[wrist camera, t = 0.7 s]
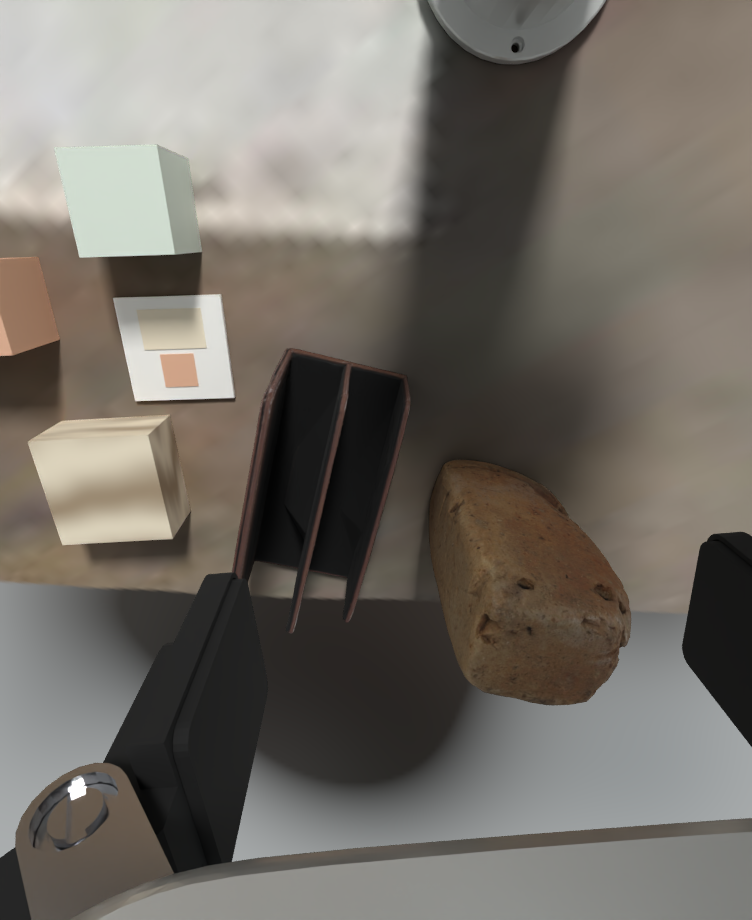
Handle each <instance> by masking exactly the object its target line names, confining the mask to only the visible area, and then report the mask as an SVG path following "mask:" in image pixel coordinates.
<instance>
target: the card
mask: <svg viewBox="0 0 752 920" xmlns="http://www.w3.org/2000/svg"><path fill="white" fill-rule="evenodd" d="M113 300H114V305H115V310H116V314H117V319H118V324H119V328H120V333H121V337H122V342H123V347H124V351H125V356H126V360H127V365H128V370H129V374H130V379H131V384H132V388H133V393H134V397H135V401H154V400H185V399H216V398H235V389H234V382H233V375H232V368H231V360H230V353H229V346H228V339H227V331H226V324H225V317H224V310H223V303H222V295H221V294H213V295H181V296H149V297H117V298H113Z"/></svg>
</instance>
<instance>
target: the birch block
mask: <svg viewBox="0 0 752 920" xmlns="http://www.w3.org/2000/svg"><path fill="white" fill-rule="evenodd" d="M28 445H29V448H30V451H31V454H32V457H33V460H34V462H35V465H36V468H37V471H38V474H39V477H40V480H41V483H42V486H43V489H44V492H45V495H46V498H47V501H48V504H49V507H50V510H51V513H52V516H53V519H54V522H55V525H56V528H57V531H58V534H59V537H60V539H61V542H62V545H71V544H89V543H108V542H126V541H144V540H163V539H173V538H174V536H175V535H176V533H177V532H178V530H179V528H180V527H181V525H182V524H183V522H184V521H185V519H186V518H187V516H188V514H189V513H190V511H191V509H190V504H189V500H188V495H187V491H186V486H185V481H184V477H183V472H182V468H181V463H180V458H179V454H178V449H177V445H176V440H175V435H174V431H173V426H172V422H171V417H170V415H159V416H141V417H123V418H105V419H87V420H69V421H61V422H59V423H57V424H56V425H54V426H53V427H51V428H49V429H48V430H46V431H44V432H43V433H41V434H39V435H38V436H36V437H34V438H33V439H31V440H29V441H28Z"/></svg>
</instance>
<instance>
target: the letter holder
mask: <svg viewBox="0 0 752 920" xmlns="http://www.w3.org/2000/svg"><path fill="white" fill-rule="evenodd" d="M410 403H411V398H410V393H409V385H408V380H407V376H406V375H402V374H398V373H394V372H390V371H386V370H381V369H377V368H373V367H369V366H365V365H360V364H356V363H352V362H348V361H344V360H340V359H336V358H332V357H328V356H323V355H320V354H315V353H311V352H306V351H302V350H298V349H293V348H290V349H286V350H285V351H284V354H283V356H282V358H281V359H280V362H279V364H278V365H277V367H276V369H275V371H274V373H273V374H272V378H271V381H270V384H269V386H268V388H267V389H266V391H265V393H264V396H263V399H262V402H261V407H260V412H259V418H258V424H257V431H256V437H255V443H254V449H253V454H252V460H251V465H250V471H249V476H248V482H247V487H246V493H245V499H244V505H243V510H242V516H241V522H240V527H239V532H238V539H237V544H236V550H235V557H234V563H233V570H232V572H235V573H236V574H237V576H238V579H246V581H247V583H248V580H249V577H250V573H251V570H252V567H253V564H254V561H260V562H267V563H273V564H278V565H283V566H288V567H293V568H297V569H298V573H297V577H296V582H295V588H294V594H293V598H292V604H291V608H290V613H289V619H288V623H287V627H286V631H288V632H289V633H293V631H294V629H295V626H296V622H297V617H298V613H299V609H300V605H301V601H302V595H303V592H304V588H305V583H306V579H307V575H308V571H313V572H319V573H325V574H330V575H335V576H341V577H345V578H348V580H347V588H346V598H345V606H344V611H343V619H344V620H345V622H347V623H348V622H349V621H350V619H351V616H352V614H353V611H354V608H355V605H356V602H357V598H358V595H359V592H360V588H361V585H362V581H363V578H364V575H365V571H366V568H367V565H368V562H369V558H370V555H371V552H372V548H373V544H374V541H375V537H376V534H377V530H378V527H379V524H380V520H381V516H382V512H383V508H384V505H385V501H386V498H387V495H388V491H389V487H390V483H391V480H392V477H393V473H394V470H395V466H396V463H397V459H398V455H399V451H400V447H401V444H402V440H403V436H404V431H405V427H406V423H407V419H408V415H409V411H410V406H411V404H410Z"/></svg>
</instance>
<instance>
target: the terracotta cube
mask: <svg viewBox="0 0 752 920" xmlns="http://www.w3.org/2000/svg"><path fill="white" fill-rule="evenodd" d="M57 340H60V338H59V334H58V331H57V327H56V323H55V319H54V315H53V312H52V308H51V304H50V300H49V296H48V293H47V289H46V285H45V281H44V277H43V274H42V270H41V266H40V262H39V258H38V257H23V258H0V356H11V355H16V354H19V353H22V352H25V351H28V350H30V349H33V348H36V347H39V346H42V345H45V344H48V343H51V342H54V341H57Z"/></svg>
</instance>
